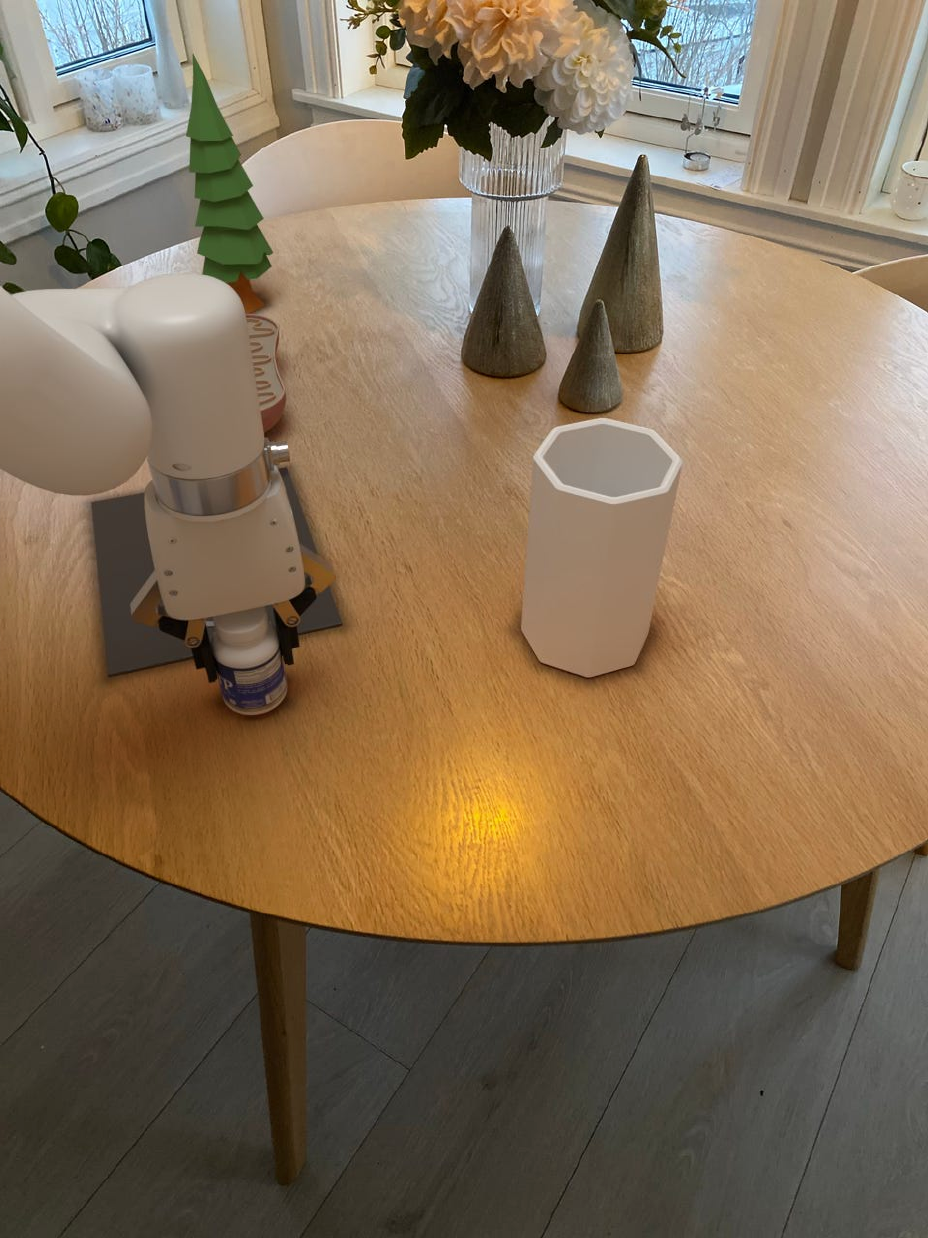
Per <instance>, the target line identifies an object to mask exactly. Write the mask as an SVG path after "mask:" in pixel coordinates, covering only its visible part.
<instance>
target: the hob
mask: <svg viewBox="0 0 928 1238" xmlns="http://www.w3.org/2000/svg"><path fill="white" fill-rule="evenodd" d="M278 470H279V473H280V475H281V477H282V480H283V482H284V485H285V488H286V491H287V496H288V499H289V503H290V506H291V510H292V514H293V518H294V523H295V527H296V532H297V536H298V541H299V543H300V544H301V545H303V546H304V547H306V548H307V549H309V550H310V551H312V552H314V553H315V554H317V555H318V556H319V553H318V550H317V548H316V545H315V542H314V539H313V536H312V534H311V531H310V527H309V525H308V523H307V520H306V517H305V513H304V510H303V508H302V506H301V502H300V500H299V497H298V494H297V491H296V489H295V486H294V483H293V480H292V478H291V474H290V471H289V469H288V467H287V466H285V467H279V468H278ZM90 505H91V506H90V507H91V517H92V518H91V519H92V527H93V537H94V549H95V557H96V568H97V578H98V589H99V590H98V591H99V600H100V601H99V602H100V610H101V611H100V612H101V621H102V631H103V640H104V641H103V643H104V652H105V660H106V661H105V662H106V671H107V677H114V676H118V675H123V674H128V673H132V672H137V671H140V670H141V671H142V670H146V669H149V668H155V667H159V666H163V665H168V664H173V663H178V662H181V661H186V660H191V659H194V658H193V654H192V650H191V648H190V647H187V646H186V645H185V641H184V640H181V639H179V638H176V637H174V636H171V635H169V634H167V633H164V632H162V631H161V630H160V629H159V627H156V626H154V627H152V626H149V625H146V624H143V623H140V622H137V621H134V620H133V619H132V618H131V610H130V604H131V602H132V601H133V599H134V598H135V597H136V595H137V594H138V592H139V591H140V590H141V588H142V587H143V585H144V584H145V583H146V581H147V580H148V578H149V577H150V576H151V574H152V573H153V572H154V570H155V568H154V563H153V558H152V553H151V548H150V543H149V538H148V532H147V525H146V516H145V492H139V493H135V494H127V495H123V496H117V497H111V498H106V499H100V500H95V501H91V502H90ZM307 575H308V574H307V573H305V572H304V577H305V578H306V576H307ZM159 605H161V607H162V606H164V604H163V601H162V600H161V602H160V603H159ZM265 608H266V611H267V615H268V620H269V621H270V622H272V623H273V624H274V626H275V627H276V624H275V618H274V612H273V608H274V607H273V605H272V604H271V605H266V606H265ZM205 623H206V627H207V631H208V635H209V640H210V644H211V639H212V636H213V634H214V632H215V626H214V621H213V616H212V617H207V618H206V622H205ZM339 626H343V621H342V619H341V615H340V612H339V609H338V607H337V604H336V602H335V598H334V596H333V593H332V590H331V588H330V585H329V586H328V587H327V588H326V589H325V590H324V591H322V592H321V593H319V594H317V598H316V600H315V601H314V602H313V603H312V604H311V605H310V606H309V607H308V608H307V610H306V611H305V612H304V613H303V614H302V615H301V616H300V623H299V624H298V625H297V631H298V636H299V635H304V634H309V633H312V632H317V631H321V630H322V631H323V630H327V629H331V628H335V627H339Z"/></svg>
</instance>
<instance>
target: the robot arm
mask: <svg viewBox="0 0 928 1238" xmlns="http://www.w3.org/2000/svg"><path fill="white" fill-rule="evenodd" d="M290 455H291V454H290V450H289V446H288V442H287V441H285V440H284V441H279V442H276V441H275V440H273V441H270V440H269V438H268V437H265V433H264V432H263V425H262V418H261V412H260V405H259V398H258V392H257V385H256V379H255V372H254V365H253V359H252V352H251V345H250V338H249V332H248V325H247V319H246V314H245V309H244V306H243V304H242V301H241V299H240V297H239V296H238V294H237V293H236V292H235V291H234V290H233V289H232V288H231V287H230V286H229V285H228V284H226V283H225V282H223V281H221V280H219V279H216V278H214V277H211V276H208V275H203V274H202V273H194V272H192V273H191V272H177V273H167V274H161V275H156V276H153V277H149V278H146V279H143V280H141V281H138V282H136V283H135V284H133V285H130V286H119V287H103V288H102V287H99V288H97V287H95V288H46V289H33V290H26V291H20V292H15V293H13V294H10V293H9V292H8V291H7V290H5V289H4V288H3V286H1V285H0V470H1V471H3V472H5V473H6V474H9V475H10V476H11V477H14V478H15V479H18V480H20V481H21V482H24V483H26V484H29V485H31V486H33V487H36V488H39V489H41V490H45V491H48V492H50V493H51V492H52V493H55V494H60V495H66V496H71V497H72V496H73V497H74V496H92V495H98V494H103V493H107V492H109V491H112V490H114V489H116V488H118V487H120V486H122V485H123V484H125V483H127V482H128V481H130V479H131V478H133V476H135V475H136V474H137V472H138V471H139V470H140V469H141V467H142V466H143V465H144V463H145V461H146V460H147V464H148V469H149V473H150V477H151V480H150V481H149V482H148V483H147V484H146V486H145V488H144V493H145V516H146V525H147V532H148V538H149V543H150V548H151V553H152V558H153V563H154V568H155V570H154V572H153V573H152V574H151V576H150V577H149V578H148V580H147V581H146V583H145V584H144V585H143V587H142V588H141V590H140V591H139V592H138V594H137V595H136V597H135V598H134V599H133V601H132V602H131V604H130V610H131V618H132V619H133V620H134V621H137V622H140V623H143V624H146V625H149V626H152V627H154V626H156V627H159V629H160V630H161V631H162V632H164V633H167V634H169V635H171V636H174V637H176V638H179V639H181V640H184V641H185V645H186V646H187V647H190V648H191V650H192V654H193V658H192V659H193V662H194V666H195V670H202V669H205V672H206V677H207V680H208V683H209V684H212V683H216V682H217V681H216V680H218V676H217V671H216V667H215V663H214V659H213V655H212V650H211V644H210V640H209V635H208V631H207V627H206V623H205V622H206V618H207V617H212V616H217V615H223V614H228V613H233V612H238V611H242V610H247V609H252V608H257V607H262V606H266V605H271V604H272V605H273V607H274V608H273V612H274V618H275V624H276V628H277V630H278V633H279V638H280V644H281V651H282V658H283V664H284V665H287V666H292V665H293V666H294V665H295V661H294V654H293V650H294V649H298V648H300V647H301V645H300V640H299V639H300V638H299V635H298V631H297V625H298V624H299V623H300V616H301V615H302V614H303V613H304V612H305V611H306V610H307V608H308V607H309V606H310V605H311V604H312V603H313V602H314V601H315V600H316V598H317V594H319V593H321V592H322V591H324V590H325V589H326V588H327V587H328V586H329V587H330V585H331V584H333V582H334V581H336V579H337V574H336V572H335V570H334V567H333V564H332V563H330V562H329V561H327V560H326V559H325V558H323V557H321V556H320V555H319V554H318V555H317V554H315V553H314V552H312V551H310V550H309V549H307V548H306V547H304V546H303V545H301V544H300V543H299V541H298V536H297V532H296V527H295V523H294V518H293V514H292V510H291V506H290V503H289V499H288V496H287V491H286V488H285V485H284V482H283V480H282V477H281V475H280V473H279V470H278V469H279V468H278V467H277V466H280V464H282V463H287V462H290V461H291V456H290ZM304 572H305V573H307V574H308V575H307V576H306V578H305V577H304ZM161 600H162V601H163V604H164V606H162V607H161V605H159V603H160V602H161Z"/></svg>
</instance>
